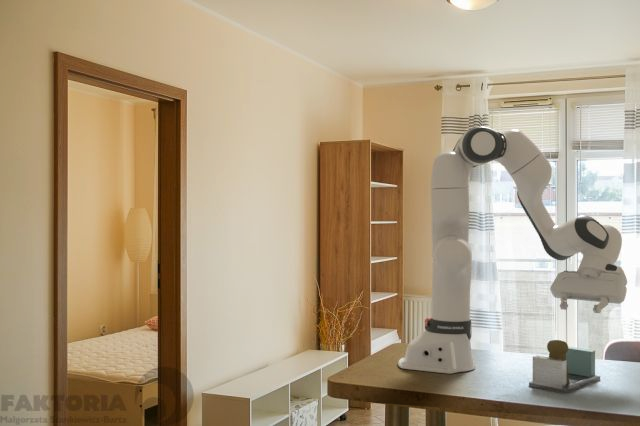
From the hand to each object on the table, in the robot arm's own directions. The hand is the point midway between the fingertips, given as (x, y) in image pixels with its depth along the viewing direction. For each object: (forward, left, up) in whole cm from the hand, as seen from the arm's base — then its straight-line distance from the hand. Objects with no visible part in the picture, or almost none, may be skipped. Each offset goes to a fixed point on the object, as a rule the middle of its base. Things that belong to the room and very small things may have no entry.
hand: (579, 310), depth 183 cm
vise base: (-4, -7, -19) cm, 21 cm away
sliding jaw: (0, 0, -18) cm, 18 cm away
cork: (-7, -11, -18) cm, 22 cm away
